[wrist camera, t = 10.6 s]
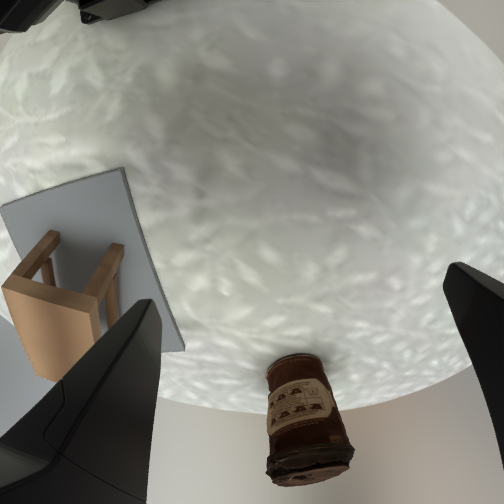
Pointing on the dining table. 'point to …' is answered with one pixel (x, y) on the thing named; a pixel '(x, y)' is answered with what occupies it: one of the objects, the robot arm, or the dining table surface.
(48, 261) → the wooden seat
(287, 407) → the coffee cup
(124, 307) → the mat
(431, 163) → the dining table surface
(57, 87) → the dining table surface
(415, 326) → the dining table surface
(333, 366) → the dining table surface
